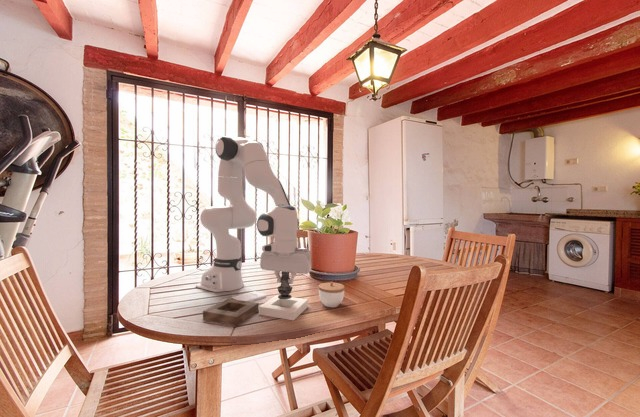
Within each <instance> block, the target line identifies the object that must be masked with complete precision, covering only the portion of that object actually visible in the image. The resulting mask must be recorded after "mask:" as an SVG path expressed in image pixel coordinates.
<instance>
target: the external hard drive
mask: <svg viewBox="0 0 640 417" xmlns="http://www.w3.org/2000/svg"><path fill="white" fill-rule="evenodd" d="M264 298H267V295H266V294H265V293H262V292H259V291H256V290H254V291H250V292H247V293H243V294H239V295H236V296H232V297H230V299H235V300H241V301H248V302H254V301H258V300H261V299H264Z"/></svg>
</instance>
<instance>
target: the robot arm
mask: <svg viewBox="0 0 640 417" xmlns="http://www.w3.org/2000/svg"><path fill="white" fill-rule="evenodd" d="M264 148H265V147H264V146H263V143H261V142H260V141H257V140H255V139H250V138H245V137H238V136H237V137H236V136H230V135H225V136H220V137H219V138H218V139H217V141H216V143H215V154H216V155H217V157H218V158H219V159H220V160H219V165H218V172H217V173H218V175H217V176H218V177H217V178H218V179H217V192H218V194H219V196H220V197H222V198H224V199H226V200H228V201H229V204H230V205H213V206H208V207H204V209H202V212H201V214H200V222H201V225H202V226H203V228H205V229H207V230H208V231H209V232H210V233H211V234H212V235H213V238H214V240H215V246H216V257H215V258H214V259H212V260H211V262H212V264H213V265H212V266H211V267H209V268H208V269H207V270H205V271H204V272H203V273H202V276H201V279H200V280H201V281H198V283H196V284H195V288H198V289H202V290H205V291H206V290H207V291H209V292H213V293H221V292H227V291H228V292H230V291H235V290H239V289H240V290H241V289H242V288H244V286H245V285H244V282H243V274H242V266H243V265H242V264H243V263H242V261H243V259H242V255H241V254H242V249H241V248H242V242H241V241H240V239H239V238H238V237H236V236H235V235H232V234H230V232H229V230H230V229H232V230H236V229H237V230H239V229H240V230H241V229H247V228H252V227H253V226H254V224H255V223H256V228H257V231H258V233H259V234H260V235H261V236H262V237H267V238H269V237H274V239H273V242H270V243H268V244H264V245H263V246H262V248H261V250H262V253H261V255H260V262H259V266H260V269H262V270H265V271H273V272H274V275H275V277H276V283H280V284H281V277H282V275H280V274H281V273H282V272H289V273H290V275H291V276H290V279H288V284H289V285H293V284H294V279H295V277H296V275H297V274H303V275H308V274H309V273H310V272H311V271H312V252H311V250H309V249H308V248H301V247H298V236H297V233H298V232H297V231H298V229H299V225H300V224H299V223H300V222H299V219H298V212H297V209H296V207H294V206H292V205H291V204H290V200H289V199H288V196H287V193H286V191H285V189H284V187H283V184H282V182H281V181H280V180H279V179H278V178H277V177H276V175H275V173H274V172H273V169H272V167H271V165H270V161H269V158H268V155H267V153H266V151H265V149H264ZM243 173H244V174H243ZM243 175H244V176H243ZM243 177H245V179H246V180H247V183H249V184H250V185H251V186H252V187H254V188H256V189H259V190H262V191H263V192H264V193H267V194H268V195H270V197H271V198H272V199H273V201H274V204H275V207H274V208H273V209H272V210H270V211H268V212H265V213H264V212H263V213H261V214H260V215H259V217H258V219H257V215H256V214H257V213H256V211H255V210H254V209H253V208H252V207H251V205H249V204H248V202H247V201H246V199H245V197H244V190H243V179H244V178H243Z"/></svg>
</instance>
